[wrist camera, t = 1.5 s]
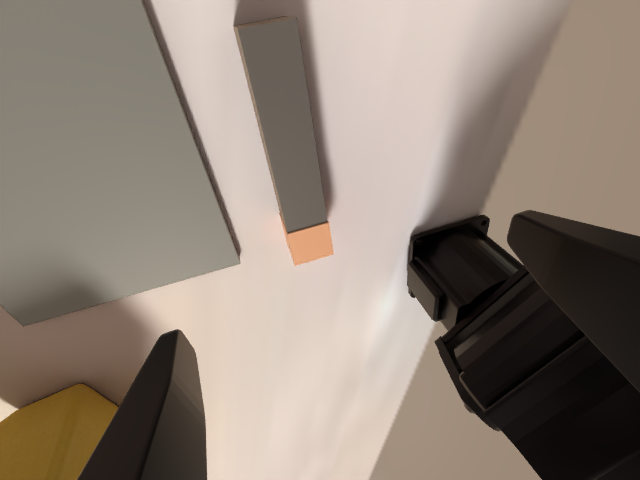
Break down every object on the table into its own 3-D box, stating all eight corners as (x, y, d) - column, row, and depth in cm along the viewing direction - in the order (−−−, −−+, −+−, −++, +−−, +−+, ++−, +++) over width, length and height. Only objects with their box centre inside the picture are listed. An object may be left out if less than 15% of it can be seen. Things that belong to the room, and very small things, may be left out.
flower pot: (90, 355, 23) (41, 509, 16) (161, 408, 28) (148, 542, 21) (-34, 407, 23) (-142, 589, 16) (62, 451, 28) (14, 602, 21)
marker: (286, 16, 15) (298, 17, 13) (322, 232, 23) (333, 254, 21) (232, 26, 15) (236, 29, 13) (286, 242, 22) (295, 265, 20)
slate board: (129, -35, 13) (127, -36, 12) (239, 258, 22) (240, 263, 21) (-275, 28, 11) (-296, 29, 11) (27, 318, 20) (22, 326, 20)
